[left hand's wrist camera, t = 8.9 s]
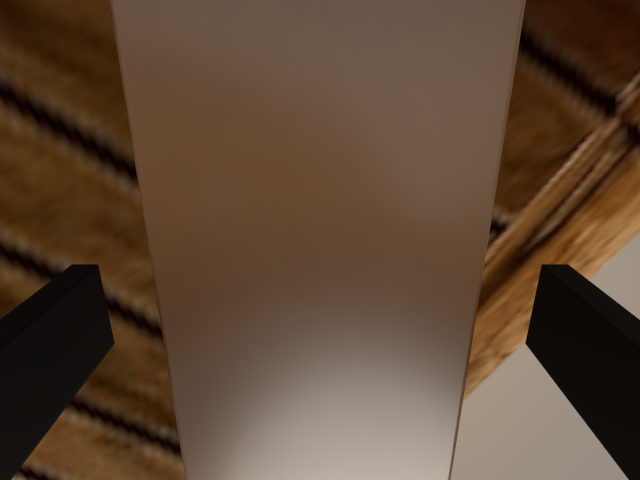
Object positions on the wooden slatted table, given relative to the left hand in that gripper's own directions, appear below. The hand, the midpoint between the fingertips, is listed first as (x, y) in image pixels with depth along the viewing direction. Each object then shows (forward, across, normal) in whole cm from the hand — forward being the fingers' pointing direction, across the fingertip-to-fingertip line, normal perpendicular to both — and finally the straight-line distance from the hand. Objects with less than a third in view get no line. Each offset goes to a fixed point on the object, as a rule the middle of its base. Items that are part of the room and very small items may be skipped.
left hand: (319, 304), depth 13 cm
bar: (+3, 0, -10) cm, 10 cm away
